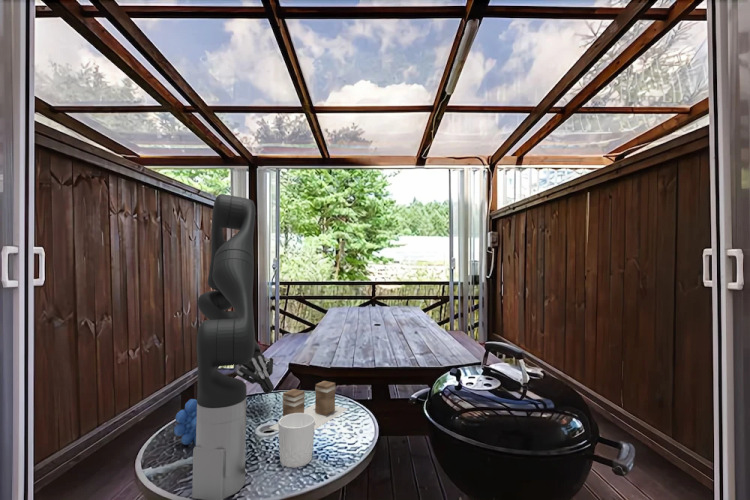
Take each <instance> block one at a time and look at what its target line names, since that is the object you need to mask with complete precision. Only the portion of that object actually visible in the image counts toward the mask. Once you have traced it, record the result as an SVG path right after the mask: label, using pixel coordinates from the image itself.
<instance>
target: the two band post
mask: <svg viewBox="0 0 750 500" xmlns="http://www.w3.org/2000/svg"><path fill="white" fill-rule="evenodd" d="M305 397H306V394H305V391H303V390H300V389H296V388H292V389H290V390H288V391H284V392H283V393H282V401H281V403H282V417H283V416H286V415H288V414H293V413H304V409H305V402H306V398H305Z"/></svg>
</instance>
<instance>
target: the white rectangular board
mask: <svg viewBox="0 0 750 500" xmlns="http://www.w3.org/2000/svg"><path fill="white" fill-rule="evenodd" d="M348 410H349V408H346V407H343V406H338V405H335V411H333V412H332V413H330V414H328V415H327V416H326V415H322V414H319V413H315V403H314V404H312V405H310V406H308V407H306V408H304V413H307V414H310V415H312V416H313V417H314V418H315V424H314V431H316V430H318V428H320V427H321V426H323V425H325V424H327V423H328V422H330V421H331V420H333V419H335V418H336V417H338V416H339V415H341V414H343V413H345V412H346V411H348ZM269 429H271V430H274V431H278V432H279V422H277V423H275V424H273V425H271V426H269Z"/></svg>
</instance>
